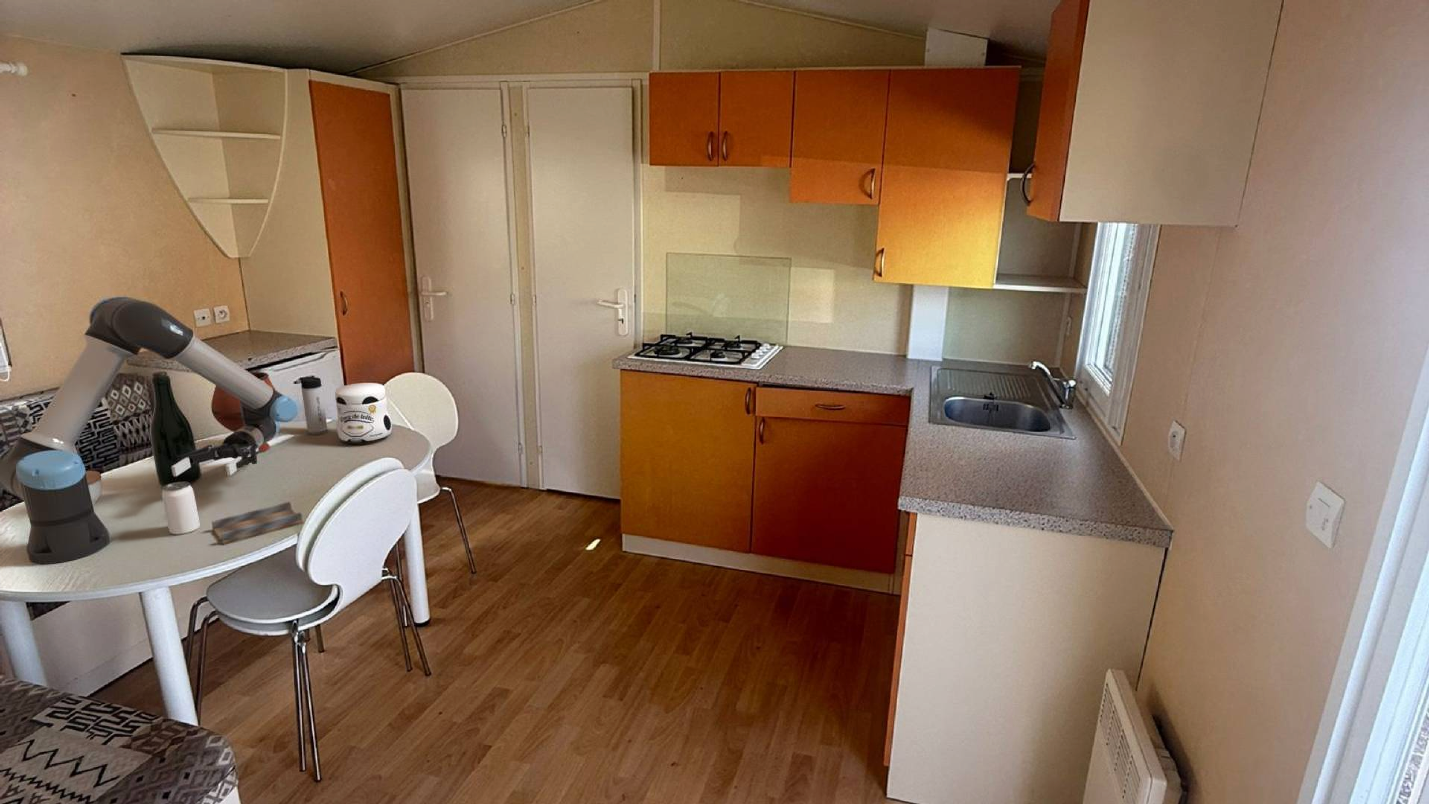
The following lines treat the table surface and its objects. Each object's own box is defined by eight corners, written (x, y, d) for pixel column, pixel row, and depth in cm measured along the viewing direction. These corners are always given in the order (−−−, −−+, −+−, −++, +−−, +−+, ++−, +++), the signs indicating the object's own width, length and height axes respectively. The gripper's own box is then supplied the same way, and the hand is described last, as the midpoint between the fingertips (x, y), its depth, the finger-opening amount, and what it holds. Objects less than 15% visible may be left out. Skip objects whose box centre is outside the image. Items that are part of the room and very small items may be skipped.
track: (223, 544, 184) (222, 535, 183) (212, 530, 191) (211, 520, 190) (303, 523, 196) (301, 514, 195) (290, 510, 203) (288, 501, 203)
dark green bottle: (200, 471, 228) (180, 366, 219) (203, 482, 220) (182, 373, 211) (158, 478, 222) (136, 370, 213) (159, 490, 214) (136, 378, 205)
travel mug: (308, 430, 266) (300, 375, 261) (329, 428, 268) (321, 374, 263) (305, 435, 261) (297, 380, 255) (326, 434, 263) (318, 379, 257)
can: (184, 536, 188) (175, 492, 184) (163, 533, 189) (153, 489, 185) (206, 525, 194) (198, 482, 190) (185, 522, 195) (176, 479, 191)
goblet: (214, 448, 247) (200, 374, 240) (279, 436, 260) (268, 366, 253) (226, 464, 234) (212, 387, 227) (294, 451, 246) (283, 377, 239)
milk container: (347, 451, 247) (340, 398, 242) (331, 437, 260) (325, 387, 254) (400, 440, 258) (395, 389, 253) (383, 427, 271) (377, 379, 266)
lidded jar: (102, 508, 202) (95, 475, 200) (51, 516, 197) (43, 483, 195) (109, 494, 211) (102, 462, 209) (60, 501, 206) (52, 469, 203)
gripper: (289, 453, 220) (252, 483, 200) (200, 455, 218) (154, 485, 198) (285, 429, 218) (248, 456, 197) (195, 431, 216) (148, 458, 195)
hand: (200, 471), depth 198 cm, fingers open, 13 cm apart
